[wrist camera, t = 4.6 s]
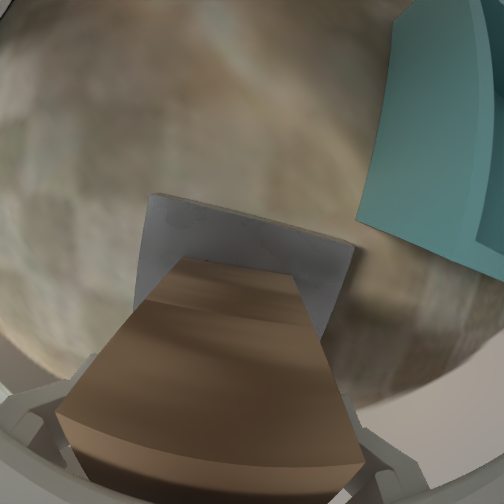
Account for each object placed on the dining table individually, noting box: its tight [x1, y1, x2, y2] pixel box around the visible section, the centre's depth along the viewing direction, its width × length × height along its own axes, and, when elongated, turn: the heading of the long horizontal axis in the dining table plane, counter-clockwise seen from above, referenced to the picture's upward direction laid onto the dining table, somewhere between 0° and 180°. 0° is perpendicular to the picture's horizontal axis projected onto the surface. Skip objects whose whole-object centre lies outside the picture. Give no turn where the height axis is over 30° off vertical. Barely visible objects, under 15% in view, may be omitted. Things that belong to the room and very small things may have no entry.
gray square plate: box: [133, 193, 355, 341], centre depth 12 cm, size 10×10×6 cm
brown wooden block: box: [55, 257, 366, 504], centre depth 9 cm, size 5×5×10 cm
